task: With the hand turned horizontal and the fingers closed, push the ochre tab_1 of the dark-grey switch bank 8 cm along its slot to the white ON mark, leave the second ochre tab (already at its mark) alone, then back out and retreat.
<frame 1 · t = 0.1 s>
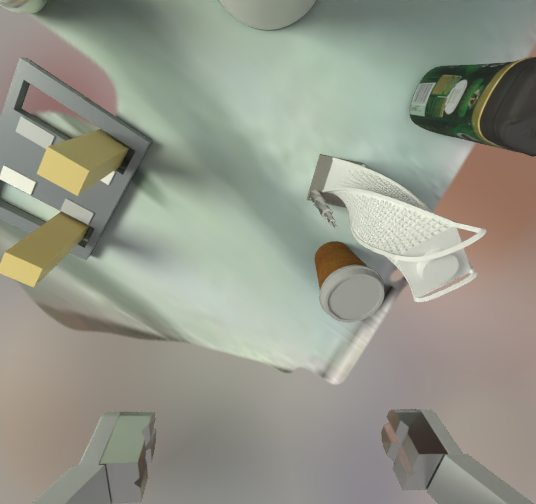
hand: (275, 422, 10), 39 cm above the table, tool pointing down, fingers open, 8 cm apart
coffee jar: (440, 100, 42), on the table
disposable coffee cup: (331, 256, 54), on the table
switch bank: (63, 172, 43), on the table
tab 2: (90, 158, 36), point 7 cm above the table, slide at 0.0 cm
tab 1: (50, 244, 41), point 7 cm above the table, slide at 0.0 cm
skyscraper: (339, 177, 47), on the table
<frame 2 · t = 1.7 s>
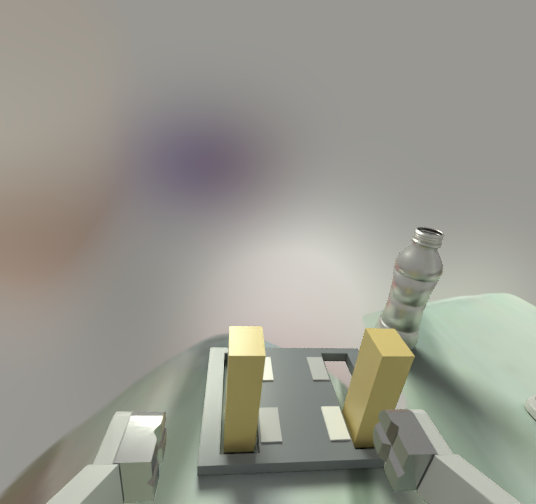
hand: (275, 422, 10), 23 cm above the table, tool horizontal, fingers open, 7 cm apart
plastic bottle: (391, 346, 50), on the table
switch bank: (294, 402, 38), on the table
tab 2: (373, 389, 32), point 7 cm above the table, slide at 0.0 cm
tab 1: (242, 390, 31), point 7 cm above the table, slide at 0.0 cm
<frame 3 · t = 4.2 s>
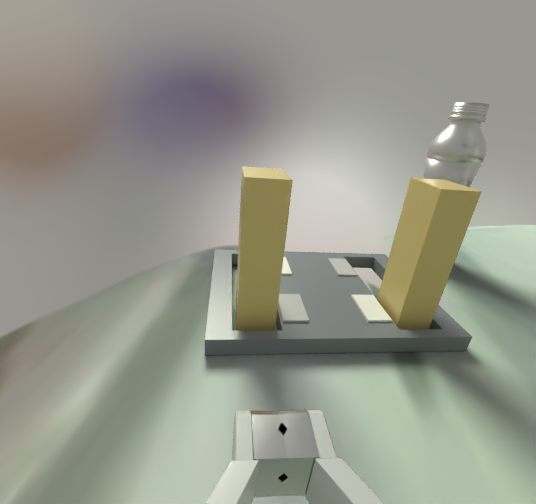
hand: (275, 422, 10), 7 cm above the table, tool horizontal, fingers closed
plastic bottle: (420, 258, 44), on the table
switch bank: (317, 297, 32), on the table
tab 2: (419, 258, 26), point 7 cm above the table, slide at 0.0 cm
tab 1: (259, 254, 24), point 7 cm above the table, slide at 0.0 cm
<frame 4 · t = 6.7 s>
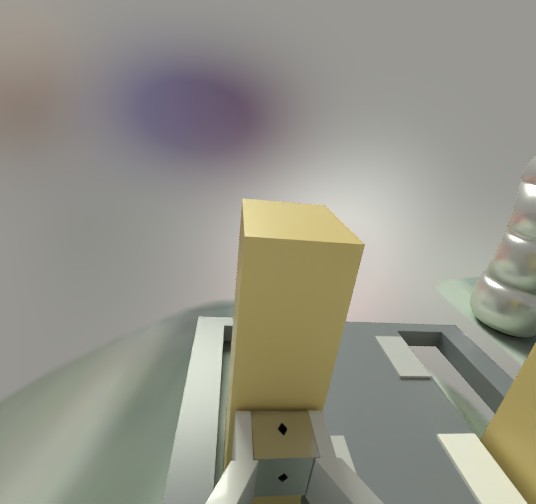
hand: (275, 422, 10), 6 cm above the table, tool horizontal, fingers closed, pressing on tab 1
plastic bottle: (498, 326, 30), on the table
switch bank: (368, 422, 18), on the table
tab 1: (270, 372, 12), point 7 cm above the table, slide at 1.2 cm, touching gripper
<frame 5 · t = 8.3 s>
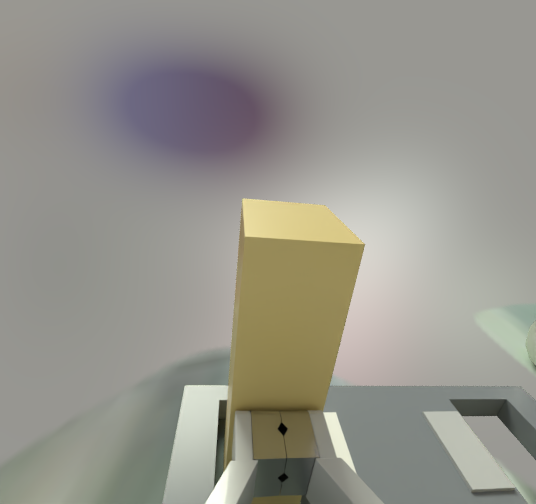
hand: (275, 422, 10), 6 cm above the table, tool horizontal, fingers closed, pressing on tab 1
tab 1: (270, 371, 12), point 7 cm above the table, slide at 7.9 cm, touching gripper
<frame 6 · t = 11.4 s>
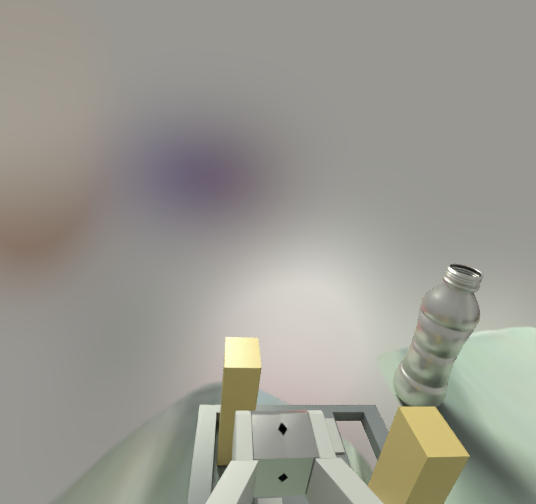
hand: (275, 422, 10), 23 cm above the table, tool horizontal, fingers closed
plastic bottle: (413, 398, 42), on the table
switch bank: (302, 484, 30), on the table
tab 2: (406, 483, 25), point 7 cm above the table, slide at 0.0 cm
tab 1: (237, 402, 30), point 7 cm above the table, slide at 7.9 cm
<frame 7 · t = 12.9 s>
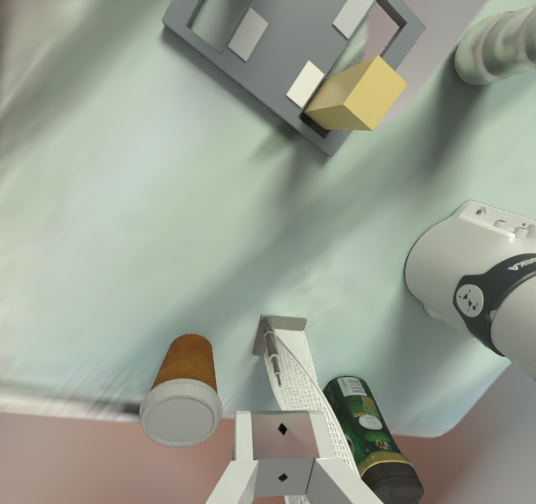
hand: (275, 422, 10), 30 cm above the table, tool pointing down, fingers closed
plastic bottle: (472, 56, 35), on the table
coffee jar: (341, 393, 54), on the table
disposable coffee cup: (191, 349, 46), on the table
switch bank: (297, 28, 32), on the table
tab 2: (344, 101, 29), point 7 cm above the table, slide at 0.0 cm
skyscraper: (282, 338, 47), on the table
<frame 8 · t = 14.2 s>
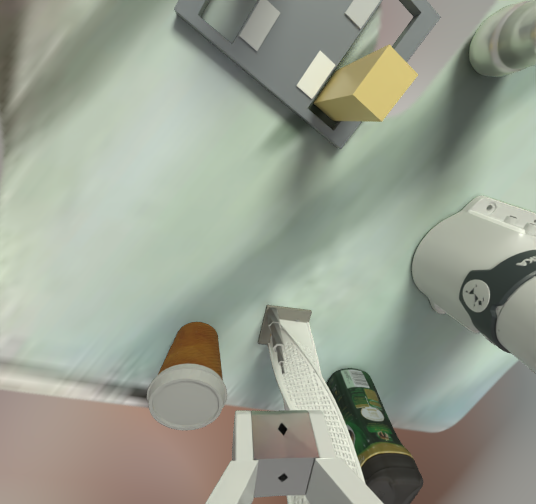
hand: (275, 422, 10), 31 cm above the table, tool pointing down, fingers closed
plastic bottle: (487, 47, 35), on the table
coffee jar: (344, 385, 54), on the table
disposable coffee cup: (197, 337, 47), on the table
switch bank: (309, 18, 32), on the table
tab 2: (354, 91, 29), point 7 cm above the table, slide at 0.0 cm
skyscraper: (287, 328, 48), on the table
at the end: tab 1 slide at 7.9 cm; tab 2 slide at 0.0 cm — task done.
